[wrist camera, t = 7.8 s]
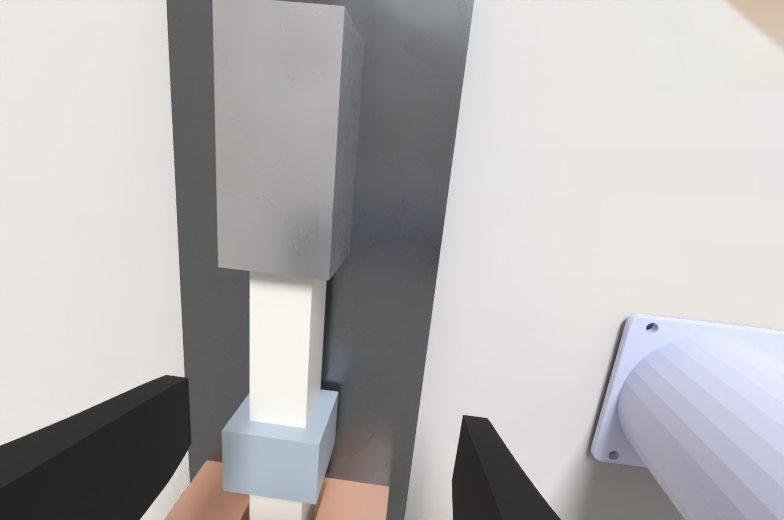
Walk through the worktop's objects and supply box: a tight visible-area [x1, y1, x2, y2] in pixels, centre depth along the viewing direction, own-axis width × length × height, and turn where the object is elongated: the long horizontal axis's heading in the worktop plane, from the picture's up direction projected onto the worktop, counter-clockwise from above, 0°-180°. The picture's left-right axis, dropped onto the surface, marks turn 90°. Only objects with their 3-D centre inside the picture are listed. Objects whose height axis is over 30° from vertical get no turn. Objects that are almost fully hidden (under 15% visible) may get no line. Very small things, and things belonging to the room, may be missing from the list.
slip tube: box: [222, 271, 338, 520], centre depth 17 cm, size 4×16×4 cm, turn 174°
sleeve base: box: [166, 0, 474, 520], centre depth 17 cm, size 12×28×5 cm, turn 175°
